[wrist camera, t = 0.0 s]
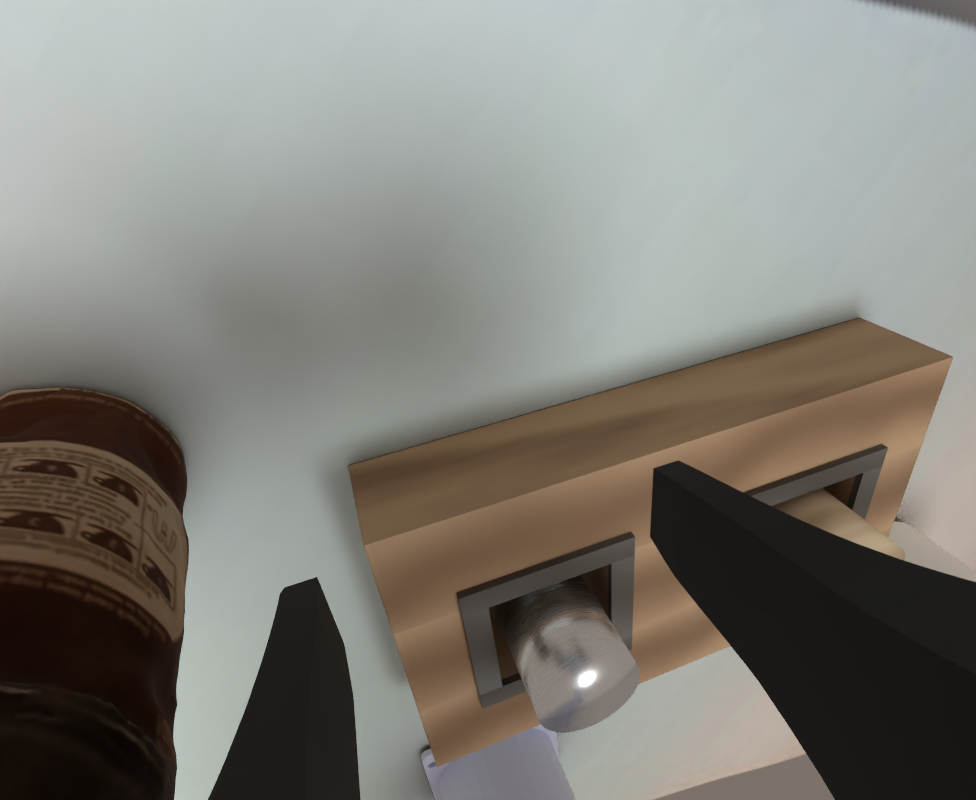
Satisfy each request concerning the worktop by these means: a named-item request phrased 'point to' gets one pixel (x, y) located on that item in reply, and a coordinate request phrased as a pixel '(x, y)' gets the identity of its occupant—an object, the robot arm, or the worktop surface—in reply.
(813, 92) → the worktop surface
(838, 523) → the maple peg
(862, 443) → the socket block
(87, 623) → the coffee cup
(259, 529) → the worktop surface
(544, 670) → the metal peg
